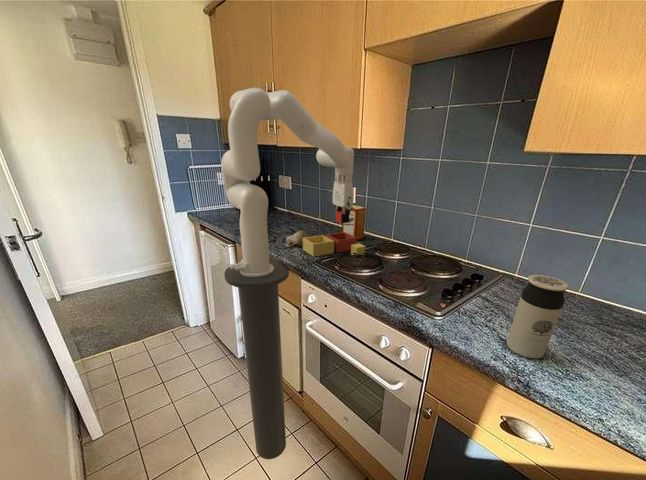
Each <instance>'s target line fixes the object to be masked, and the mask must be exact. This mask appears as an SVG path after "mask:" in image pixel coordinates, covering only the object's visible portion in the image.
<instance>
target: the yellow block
mask: <svg viewBox="0 0 646 480" xmlns="http://www.w3.org/2000/svg"><path fill="white" fill-rule="evenodd" d="M353 253H356V254H361V255H366V245H365V244H362V243H357V244H353V245H351V250H350V255H351V256H353V255H355V254H353ZM362 253H365V254H362Z"/></svg>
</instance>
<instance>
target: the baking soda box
mask: <svg viewBox="0 0 646 480" xmlns="http://www.w3.org/2000/svg"><path fill="white" fill-rule="evenodd" d="M352 205H353V209H352V210H351V211H350V214H349V222H348V223H341V233H342V232H346V233H348V234H350V235H352V236H354V237H357V241H360V240H364V238H365V227H366V213H367V207H364V206H359V205H354V204H352ZM345 207H347V206H345ZM345 209H347V208H345Z"/></svg>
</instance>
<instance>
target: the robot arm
mask: <svg viewBox="0 0 646 480" xmlns="http://www.w3.org/2000/svg"><path fill="white" fill-rule="evenodd" d="M229 107H230V111H231V113H230V115H229V118H228V123H227V134H228V143H229V150H227V151H226V152H224V154H223V155H222V157H221V164H220V167H221V175H222V179H223V185H224V190H225V191H224V192H225V194H226V198H227V201H228V202H229V204H230V205H231V206H232V207H234V208H236V209H237V210H240V214H239V232H240V233H239V234H240V244H241V252H242V259H240V261H239V262H237V263H238V264H237V263H232V264H229V267H230V268H231V270H232V269H236V271H238V270H240V273H241V274H242V275H244V276H247V277H263V276H267V275H269V274H271V273H272V272H273V271H274V266H273V265H271V264H270V263H269V260H270V249H269V246H270V245H269V232H268V231H269V230H268V211H269V197H268V195H267V192H266V191H265V190H264V189H263V188H262V187H260V186H258V185H256V184H252V183H251V181H254V180H256V179H258V177H259V176H260V174H261V162H260V156H259V149H258V138H257V137H258V136H257V132H258V127H259V124H260V123H261V122H262V121H276V120H280V121H281V122H282V123H283V124H284V125H285V126H286V127H287V128H288V129H289V130H290V131H291V132H292V133H293V134H294V135H295V136H296V138H297V139H298V140H300V141H301V142H303V143H305V144H307V145H309V146H313V147H315V148H317V149H318V150H317V152H316V154H315V158H316V162H317V163H318V164H319V165H320V166H322V167H327V168H334V182H333V189H332V201H331V202H332V204H333V205H334V207H335V212H336V211H343V214H342V223H348V222H349V214H350V211H351V210H352V209H353V205H354V186H353V181H354V180H353V179H354V159H355V150H354V148H353V149H352V147H349V148H346V147H347V146H345V145H344V143H343V142H342V140H341V139H339V137H338V136H337V135H336V134H334V133H333V132H332V131H330V130H329V129H328V128H326V127H325V126H323V125H321V123H319V122H317V121H316V119H314V118H313V116H312V115H311V114H310V113H309V111H308V110H307V109H306V108H305V107H304V105H303V104H302V103H301V102H300V101H299V99H298V98H297V97H296V96H295V95H294V94H293V92H291V91H290V90H286V89H280V90H275V91H271V92H267V91H266V90H265V89H262V88H260V87H250V88H246V89H242V90H238V91H235V92H234V93H233V94H232V95H231V96H230V99H229ZM345 206H347V207H345ZM345 208H347V209H345ZM342 223H341V224H342Z"/></svg>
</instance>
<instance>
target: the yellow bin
mask: <svg viewBox="0 0 646 480" xmlns="http://www.w3.org/2000/svg"><path fill="white" fill-rule="evenodd" d="M302 250H303V251H304V252H306V253H307V254H309V255H310V256H312V257H319V256H325V255H331V254H334V253H335V251H334V241H333V240H331V239H329V238H327V237H326V235H324V234H321V235H313V236H308V237H305V238H303V246H302Z"/></svg>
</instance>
